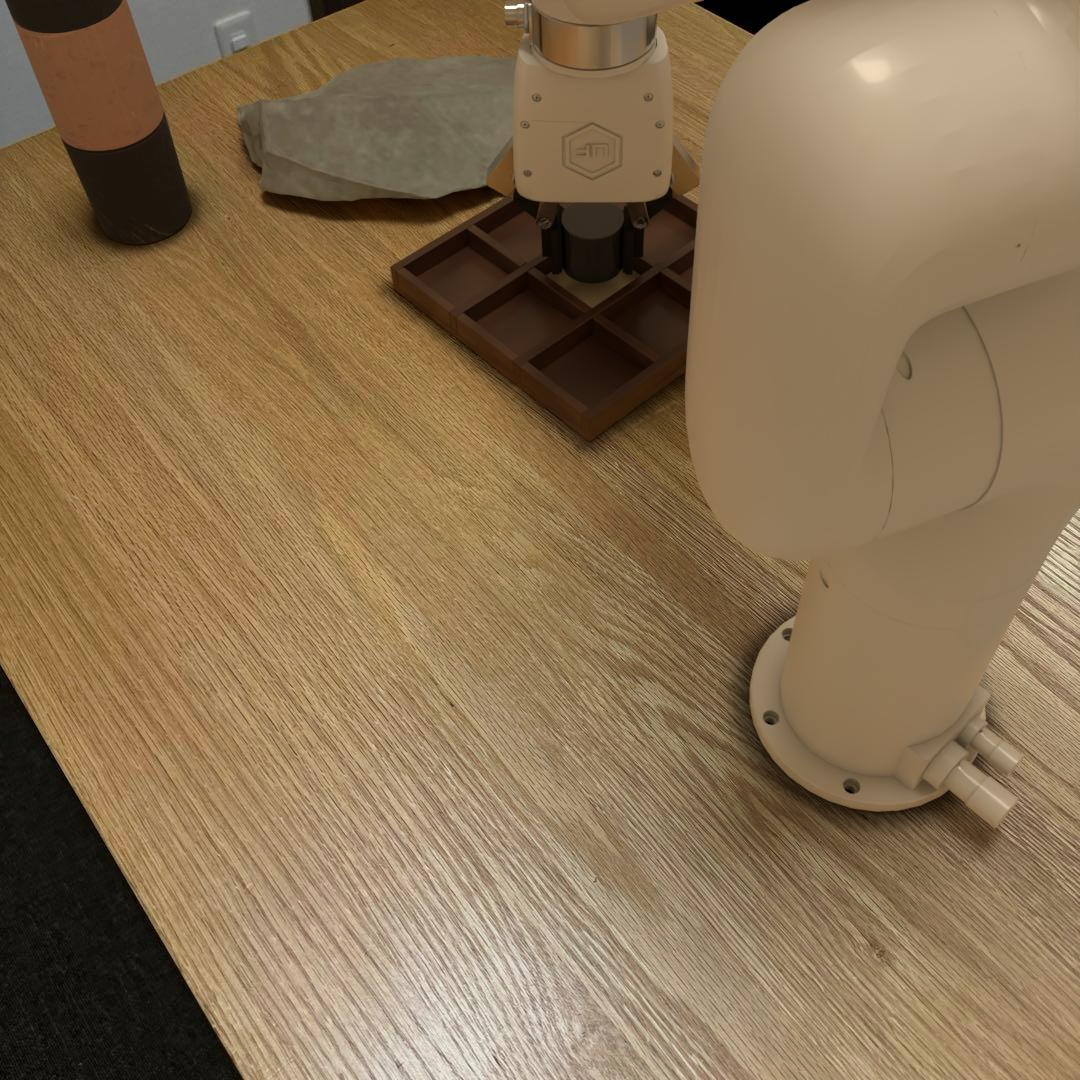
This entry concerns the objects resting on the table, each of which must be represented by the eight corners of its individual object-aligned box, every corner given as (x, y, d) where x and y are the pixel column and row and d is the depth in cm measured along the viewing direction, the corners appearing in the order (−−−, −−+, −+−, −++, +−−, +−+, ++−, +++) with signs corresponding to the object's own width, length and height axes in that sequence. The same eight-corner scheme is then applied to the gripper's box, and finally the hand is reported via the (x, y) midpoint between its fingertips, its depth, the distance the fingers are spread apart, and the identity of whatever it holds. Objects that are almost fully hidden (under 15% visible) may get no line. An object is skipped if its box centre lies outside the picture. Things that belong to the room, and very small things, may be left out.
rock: (234, 177, 86) (226, 35, 98) (248, 248, 90) (238, 105, 103) (595, 148, 90) (544, 16, 102) (590, 218, 94) (541, 83, 107)
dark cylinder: (636, 263, 85) (638, 218, 82) (591, 293, 83) (591, 247, 80) (593, 234, 87) (593, 189, 84) (549, 263, 85) (547, 217, 82)
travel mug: (93, 197, 96) (-8, -50, 80) (189, 176, 97) (108, -71, 81) (102, 256, 91) (-3, 7, 75) (201, 234, 92) (119, -16, 76)
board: (796, 290, 86) (800, 267, 84) (589, 442, 78) (589, 419, 77) (596, 165, 96) (596, 142, 94) (393, 289, 88) (389, 266, 86)
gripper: (445, 57, 69) (471, 297, 83) (740, 55, 68) (713, 298, 82) (456, -12, 73) (479, 227, 88) (733, -15, 72) (709, 227, 87)
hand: (592, 259), depth 85 cm, fingers closed on dark cylinder, 4 cm apart
